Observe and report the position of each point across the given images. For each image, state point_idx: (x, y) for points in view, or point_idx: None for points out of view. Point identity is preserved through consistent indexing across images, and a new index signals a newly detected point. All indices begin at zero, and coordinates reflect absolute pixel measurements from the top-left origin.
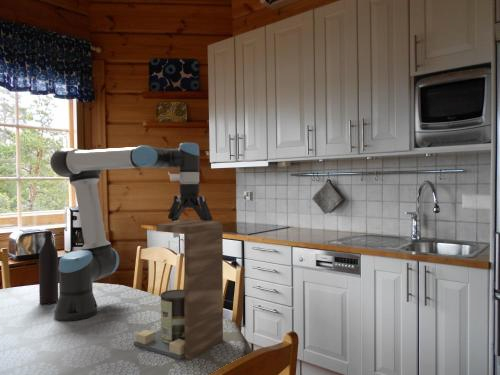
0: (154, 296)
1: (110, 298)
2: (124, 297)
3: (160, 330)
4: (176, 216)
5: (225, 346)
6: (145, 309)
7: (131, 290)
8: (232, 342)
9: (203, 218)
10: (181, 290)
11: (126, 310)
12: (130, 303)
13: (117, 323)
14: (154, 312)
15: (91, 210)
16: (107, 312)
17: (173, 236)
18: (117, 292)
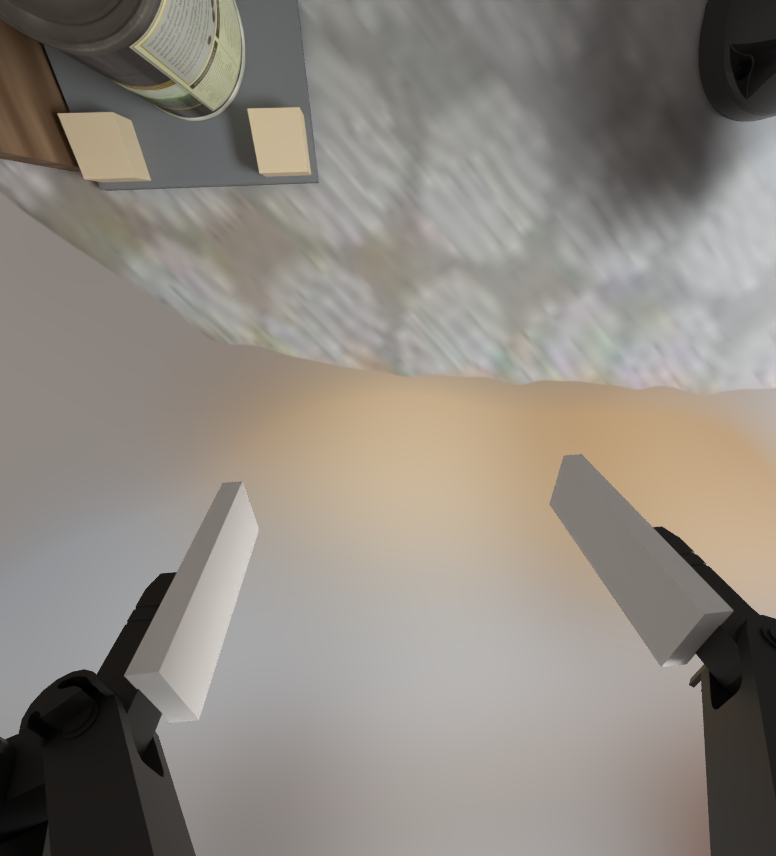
0: (586, 373)
1: (733, 266)
2: (684, 306)
3: (297, 58)
4: (750, 717)
5: None
6: (535, 253)
7: (697, 373)
8: (30, 176)
9: (51, 794)
10: (107, 14)
11: (597, 197)
12: (627, 269)
13: (539, 35)
14: (484, 248)
15: None
16: (660, 125)
17: (586, 461)
18: (738, 331)
